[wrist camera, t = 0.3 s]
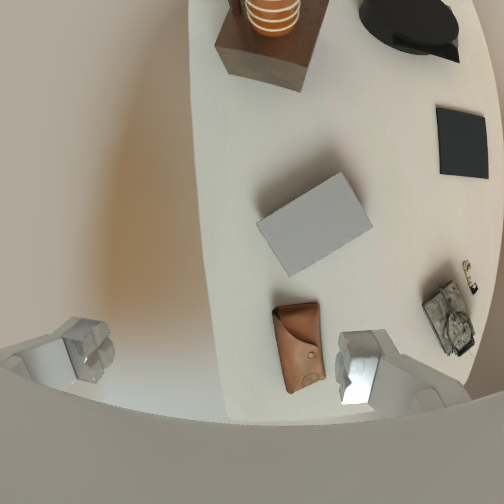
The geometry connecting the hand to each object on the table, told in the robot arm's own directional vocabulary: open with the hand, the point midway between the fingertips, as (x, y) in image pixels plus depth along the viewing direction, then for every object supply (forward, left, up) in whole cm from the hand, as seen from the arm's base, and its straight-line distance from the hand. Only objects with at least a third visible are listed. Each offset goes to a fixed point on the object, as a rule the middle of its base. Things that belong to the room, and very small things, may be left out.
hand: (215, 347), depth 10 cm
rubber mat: (-34, +20, -39) cm, 55 cm away
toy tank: (-8, +40, -39) cm, 56 cm away
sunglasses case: (+15, +21, -40) cm, 47 cm away
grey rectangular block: (-11, +10, -37) cm, 40 cm away
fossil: (-19, +41, -40) cm, 60 cm away
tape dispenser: (-44, -2, -40) cm, 59 cm away
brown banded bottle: (-22, -15, -27) cm, 38 cm away
